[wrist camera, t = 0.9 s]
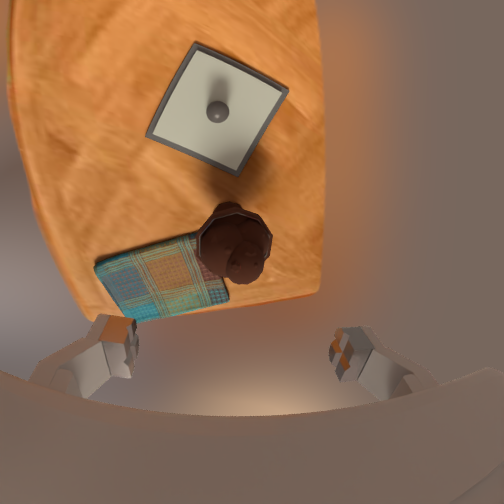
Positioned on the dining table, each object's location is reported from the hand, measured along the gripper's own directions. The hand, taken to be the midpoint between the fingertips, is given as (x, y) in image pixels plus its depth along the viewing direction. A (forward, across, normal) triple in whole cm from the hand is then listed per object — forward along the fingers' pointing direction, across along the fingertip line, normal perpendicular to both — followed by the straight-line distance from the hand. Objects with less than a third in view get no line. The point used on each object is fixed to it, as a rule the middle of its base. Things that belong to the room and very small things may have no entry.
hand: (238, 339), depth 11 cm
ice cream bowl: (+38, -1, +6) cm, 38 cm away
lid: (+34, +2, -12) cm, 36 cm away
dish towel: (+40, +10, +20) cm, 46 cm away
